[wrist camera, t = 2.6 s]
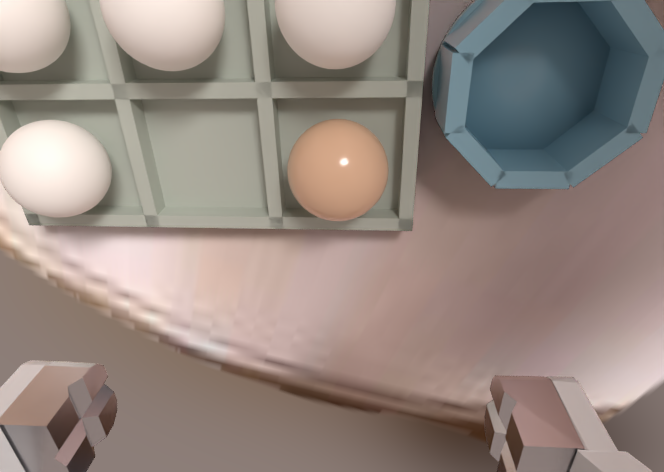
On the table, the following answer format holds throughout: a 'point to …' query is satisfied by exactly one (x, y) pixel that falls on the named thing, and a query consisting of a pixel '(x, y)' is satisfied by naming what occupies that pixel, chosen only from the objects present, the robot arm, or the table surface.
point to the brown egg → (337, 170)
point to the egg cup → (547, 87)
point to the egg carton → (201, 107)
